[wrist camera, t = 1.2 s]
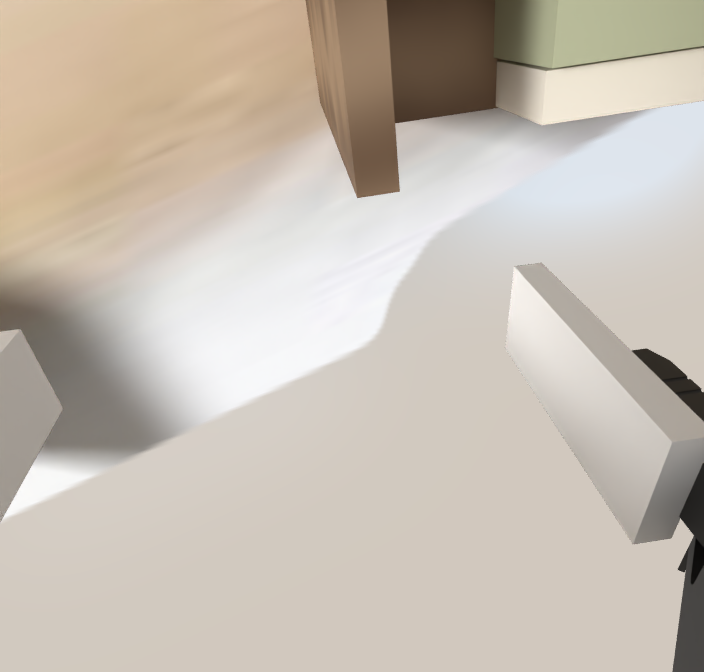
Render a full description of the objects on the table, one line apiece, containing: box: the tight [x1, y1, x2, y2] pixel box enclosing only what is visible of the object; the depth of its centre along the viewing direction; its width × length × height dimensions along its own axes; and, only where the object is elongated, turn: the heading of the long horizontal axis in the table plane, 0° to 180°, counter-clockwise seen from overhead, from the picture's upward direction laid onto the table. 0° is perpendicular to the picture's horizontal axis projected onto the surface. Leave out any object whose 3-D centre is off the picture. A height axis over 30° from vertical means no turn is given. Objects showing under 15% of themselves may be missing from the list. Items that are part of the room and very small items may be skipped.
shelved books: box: [494, 0, 704, 125], centre depth 23 cm, size 6×9×7 cm, turn 97°
